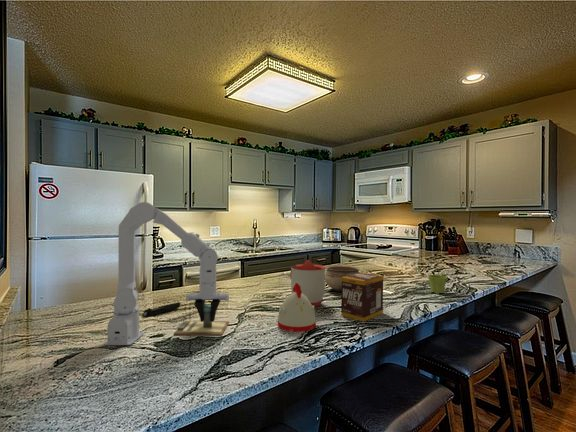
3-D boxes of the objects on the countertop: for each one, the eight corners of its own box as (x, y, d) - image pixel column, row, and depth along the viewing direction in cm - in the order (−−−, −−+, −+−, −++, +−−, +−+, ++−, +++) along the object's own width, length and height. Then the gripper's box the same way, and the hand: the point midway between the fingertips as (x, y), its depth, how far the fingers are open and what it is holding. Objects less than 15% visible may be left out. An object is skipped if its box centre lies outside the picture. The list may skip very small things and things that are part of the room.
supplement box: (340, 315, 124) (340, 276, 124) (361, 307, 134) (361, 271, 134) (363, 322, 116) (363, 280, 116) (383, 313, 127) (383, 275, 127)
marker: (211, 327, 107) (211, 307, 107) (202, 327, 107) (202, 307, 107) (212, 324, 110) (213, 304, 110) (204, 324, 110) (204, 304, 110)
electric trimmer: (182, 310, 131) (182, 302, 131) (146, 318, 119) (146, 310, 119) (177, 308, 133) (177, 301, 133) (141, 316, 122) (142, 308, 122)
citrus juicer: (293, 297, 150) (294, 256, 150) (329, 301, 143) (329, 258, 143) (281, 306, 135) (281, 260, 135) (319, 311, 129) (320, 263, 129)
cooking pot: (372, 294, 158) (372, 270, 158) (343, 298, 149) (343, 273, 149) (341, 284, 180) (341, 263, 180) (314, 287, 171) (314, 265, 171)
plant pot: (428, 294, 158) (428, 277, 158) (426, 290, 167) (426, 274, 167) (448, 295, 156) (449, 278, 156) (445, 291, 165) (445, 275, 165)
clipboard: (222, 335, 102) (222, 331, 102) (173, 335, 102) (173, 330, 102) (228, 322, 114) (228, 319, 114) (185, 322, 114) (185, 318, 114)
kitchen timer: (283, 333, 105) (283, 289, 105) (274, 320, 118) (274, 280, 118) (321, 329, 108) (321, 286, 108) (308, 317, 122) (308, 279, 122)
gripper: (230, 279, 112) (230, 317, 112) (190, 279, 112) (190, 317, 112) (227, 284, 105) (226, 324, 105) (184, 283, 105) (184, 323, 105)
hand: (207, 320), depth 108 cm, fingers closed on marker, 3 cm apart
